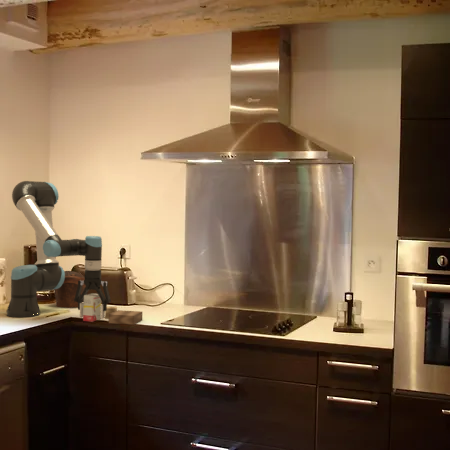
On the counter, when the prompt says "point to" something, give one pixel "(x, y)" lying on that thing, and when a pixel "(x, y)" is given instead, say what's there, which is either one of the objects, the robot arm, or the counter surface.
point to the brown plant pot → (69, 290)
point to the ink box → (92, 307)
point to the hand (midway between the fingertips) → (92, 317)
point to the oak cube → (109, 311)
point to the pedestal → (125, 317)
